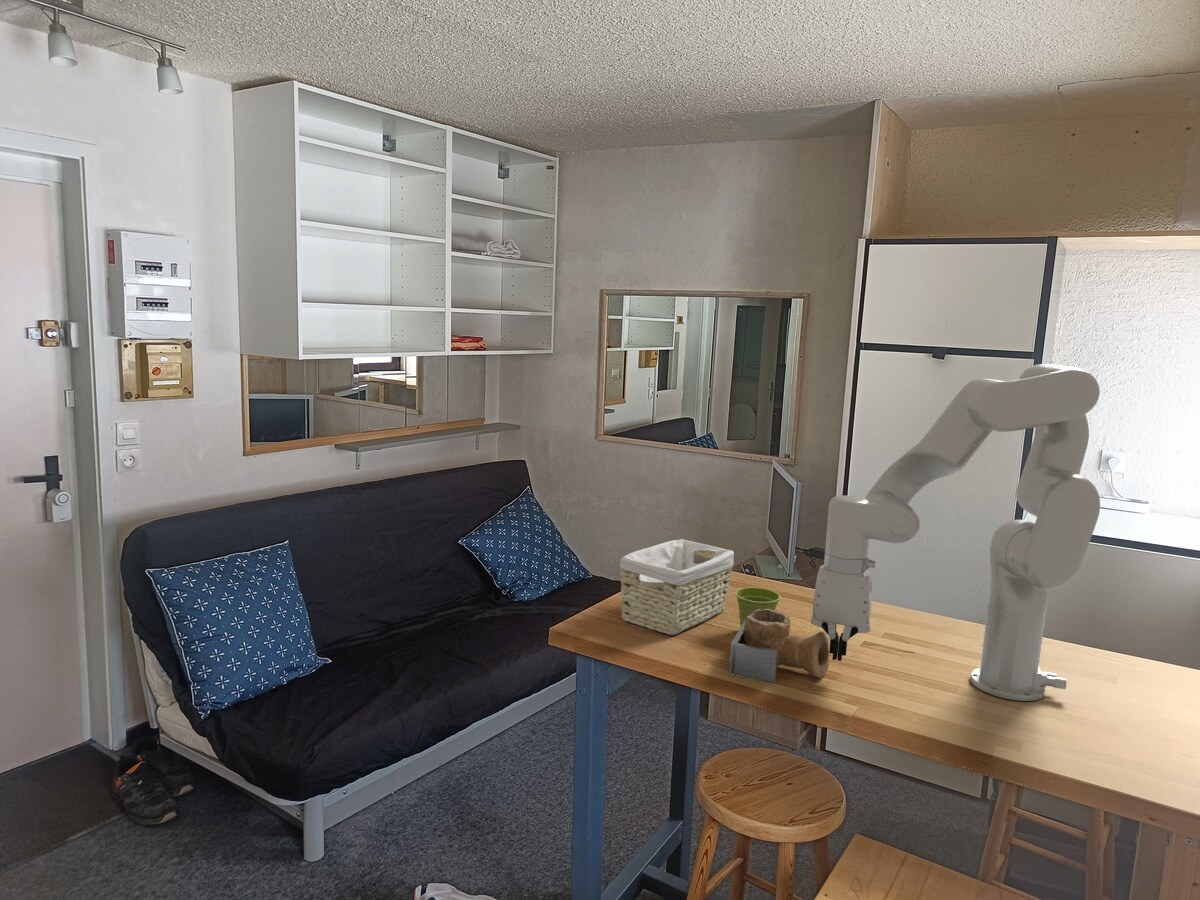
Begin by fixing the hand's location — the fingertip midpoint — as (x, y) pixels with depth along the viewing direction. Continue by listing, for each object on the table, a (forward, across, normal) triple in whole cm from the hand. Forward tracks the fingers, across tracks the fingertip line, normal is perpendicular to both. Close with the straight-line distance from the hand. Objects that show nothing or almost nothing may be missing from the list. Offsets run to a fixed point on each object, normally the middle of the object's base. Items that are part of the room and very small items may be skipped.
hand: (837, 657), depth 155 cm
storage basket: (+4, +36, -18) cm, 41 cm away
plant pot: (+4, +18, -16) cm, 24 cm away
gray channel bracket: (+4, +15, 0) cm, 15 cm away
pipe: (+4, +10, 0) cm, 11 cm away
